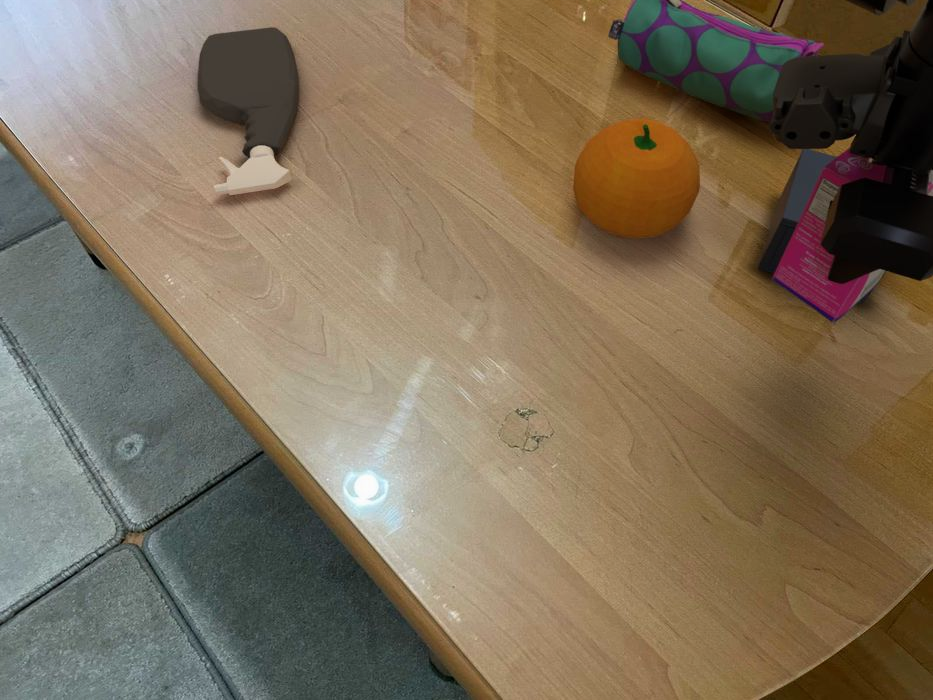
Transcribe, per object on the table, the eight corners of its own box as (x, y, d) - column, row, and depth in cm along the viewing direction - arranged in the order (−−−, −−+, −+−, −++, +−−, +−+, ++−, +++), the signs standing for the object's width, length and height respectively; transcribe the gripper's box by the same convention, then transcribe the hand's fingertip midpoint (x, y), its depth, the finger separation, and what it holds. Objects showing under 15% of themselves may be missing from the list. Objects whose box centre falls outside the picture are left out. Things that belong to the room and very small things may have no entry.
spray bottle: (295, 46, 88) (315, 192, 75) (200, 56, 87) (204, 207, 74) (290, 23, 86) (310, 169, 73) (193, 33, 85) (195, 185, 71)
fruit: (574, 254, 70) (590, 173, 62) (563, 168, 77) (575, 85, 69) (699, 253, 70) (730, 172, 62) (676, 167, 77) (702, 84, 69)
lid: (800, 153, 70) (803, 147, 69) (908, 184, 68) (912, 177, 67) (779, 224, 65) (782, 217, 64) (894, 259, 62) (899, 253, 62)
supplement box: (811, 242, 60) (875, 125, 50) (877, 286, 57) (957, 171, 48) (766, 279, 58) (823, 164, 48) (832, 326, 55) (907, 214, 45)
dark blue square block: (777, 201, 74) (799, 156, 70) (877, 231, 72) (907, 186, 67) (757, 268, 69) (779, 224, 65) (863, 302, 67) (894, 259, 62)
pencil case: (600, 74, 86) (614, -6, 78) (637, 38, 90) (654, -42, 82) (771, 147, 79) (806, 67, 71) (803, 104, 83) (839, 23, 75)
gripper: (836, -63, 47) (756, 134, 60) (783, 110, 38) (700, 301, 51) (1026, -23, 45) (900, 174, 58) (1021, 173, 35) (871, 357, 48)
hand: (842, 243), depth 54 cm, fingers closed on supplement box, 7 cm apart
